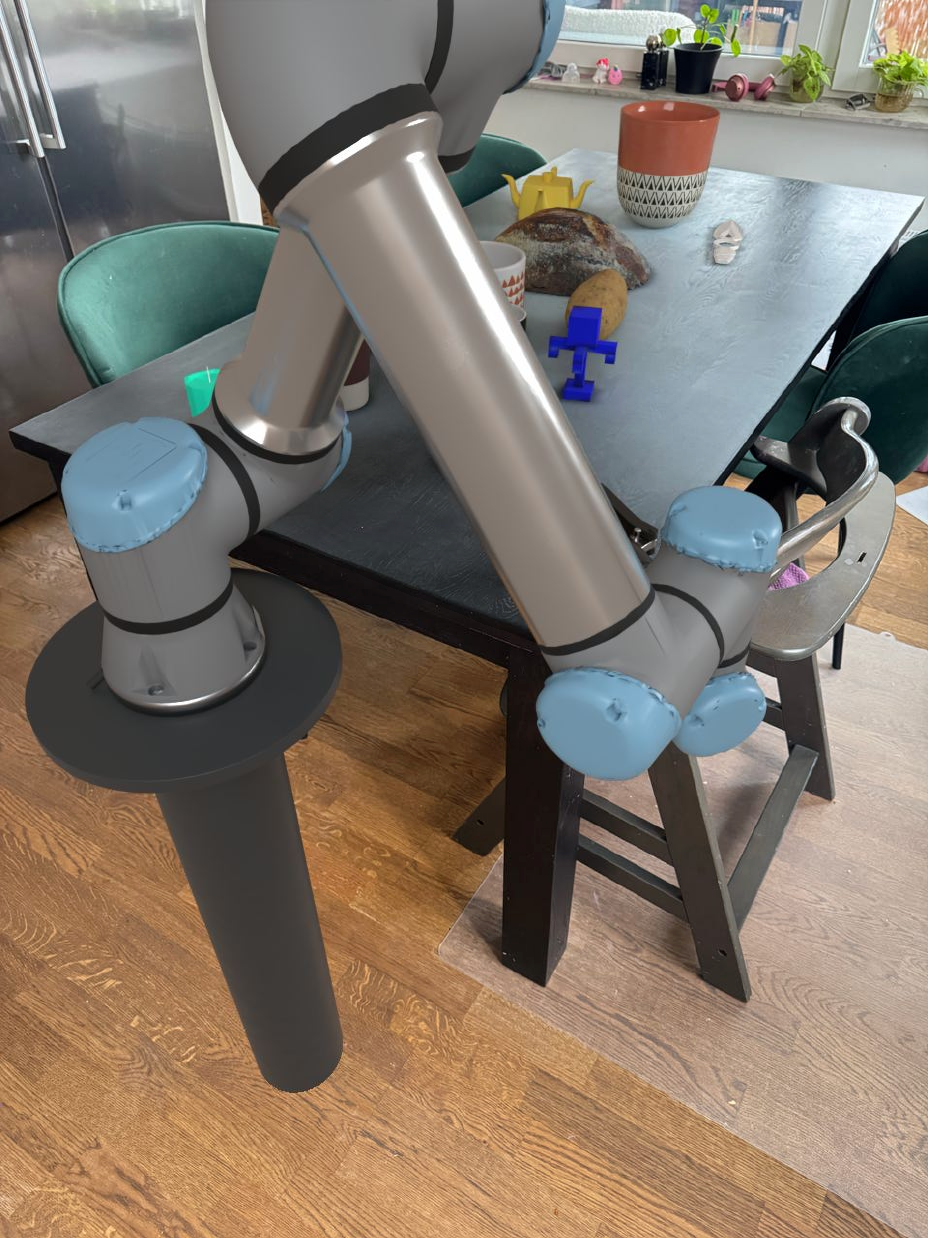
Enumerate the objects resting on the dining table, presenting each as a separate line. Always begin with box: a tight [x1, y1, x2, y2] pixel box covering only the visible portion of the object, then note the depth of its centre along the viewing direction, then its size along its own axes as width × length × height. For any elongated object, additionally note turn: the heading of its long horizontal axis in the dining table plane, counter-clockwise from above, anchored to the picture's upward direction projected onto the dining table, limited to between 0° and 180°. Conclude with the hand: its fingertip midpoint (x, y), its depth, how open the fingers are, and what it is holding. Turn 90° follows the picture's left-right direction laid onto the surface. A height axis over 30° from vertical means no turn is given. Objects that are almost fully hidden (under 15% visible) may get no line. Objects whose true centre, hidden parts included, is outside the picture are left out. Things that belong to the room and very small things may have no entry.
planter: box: [616, 100, 722, 229], centre depth 177 cm, size 20×20×21 cm
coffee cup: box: [340, 338, 371, 413], centre depth 118 cm, size 10×10×15 cm
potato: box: [564, 269, 628, 341], centre depth 137 cm, size 9×16×9 cm, turn 151°
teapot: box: [501, 166, 596, 221], centre depth 182 cm, size 15×14×10 cm
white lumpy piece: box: [712, 219, 744, 265], centre depth 175 cm, size 6×28×1 cm, turn 163°
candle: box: [183, 366, 221, 418], centre depth 107 cm, size 6×6×12 cm
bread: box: [492, 207, 652, 297], centre depth 160 cm, size 27×32×10 cm
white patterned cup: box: [479, 240, 526, 309], centre depth 136 cm, size 14×14×13 cm
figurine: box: [547, 305, 618, 403], centre depth 120 cm, size 8×8×12 cm
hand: (523, 464), depth 89 cm, fingers closed on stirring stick, 3 cm apart
